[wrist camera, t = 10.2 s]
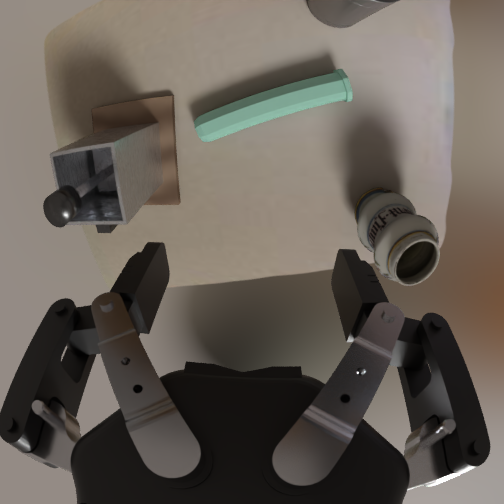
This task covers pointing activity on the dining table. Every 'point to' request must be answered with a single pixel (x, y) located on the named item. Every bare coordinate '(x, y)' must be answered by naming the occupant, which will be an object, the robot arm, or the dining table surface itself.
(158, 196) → the walnut board
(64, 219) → the plunger
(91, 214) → the square mug
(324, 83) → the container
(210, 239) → the dining table surface
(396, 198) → the apothecary jar
